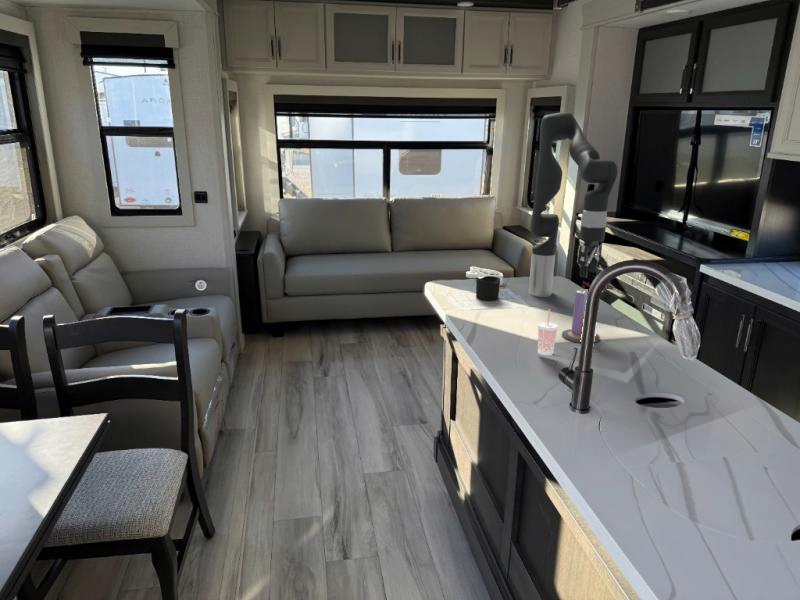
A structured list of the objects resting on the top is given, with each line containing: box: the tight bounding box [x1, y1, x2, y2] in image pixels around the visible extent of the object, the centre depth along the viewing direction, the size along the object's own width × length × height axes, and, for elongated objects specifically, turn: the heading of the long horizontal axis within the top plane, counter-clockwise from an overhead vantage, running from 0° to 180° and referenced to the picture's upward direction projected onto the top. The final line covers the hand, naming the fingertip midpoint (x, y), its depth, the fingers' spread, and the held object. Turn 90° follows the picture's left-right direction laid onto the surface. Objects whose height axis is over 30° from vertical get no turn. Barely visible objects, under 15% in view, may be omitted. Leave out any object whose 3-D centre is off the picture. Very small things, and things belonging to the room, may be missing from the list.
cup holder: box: [465, 266, 504, 286], centre depth 249 cm, size 20×11×7 cm, turn 22°
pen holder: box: [475, 276, 501, 302], centre depth 224 cm, size 9×9×10 cm
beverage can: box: [571, 288, 589, 337], centre depth 185 cm, size 6×6×15 cm
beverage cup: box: [537, 308, 559, 356], centre depth 171 cm, size 6×6×14 cm
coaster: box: [561, 328, 601, 344], centre depth 187 cm, size 12×12×1 cm
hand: (587, 274), depth 181 cm, fingers open, 8 cm apart
